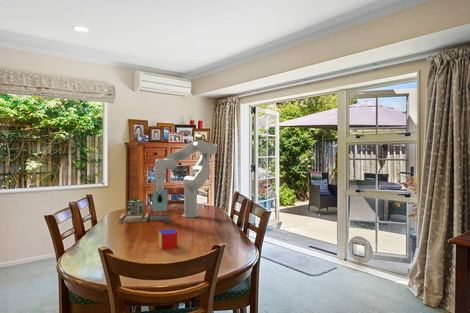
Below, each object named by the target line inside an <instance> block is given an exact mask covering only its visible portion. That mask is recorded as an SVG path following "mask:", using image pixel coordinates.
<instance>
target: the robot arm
mask: <svg viewBox="0 0 470 313" xmlns="http://www.w3.org/2000/svg"><path fill="white" fill-rule="evenodd" d="M197 152H199V155H200V158H199V159H198V161H197V163H196V164H195V165H194V167H193V168H192V171H191V172H192V175H191V174H188V175H186V176H184V178H183V181H182V184H183V191H184V194H183V197H184V199H183V200H184V201H183V202H184V203H183V204H184V206H183V209H184V211H183V214H182V215H181V216H182V218H189V219H191V218H198V217H199V213H198V212H197V211H198V205H197V204H198V202H197V201H198V199H197V198H198V193H197V189H200V188H202V187H203V186H204V184H205V182H206V181H207V180H208V179H209V177H210V175H211V173H212V172H211V168H210V166H209V165H210V164H211V156H210V155H212V156H213V155H216V153H217V152H218V146H217V145H216V143H212V142H209V141H208V142H207V141H205V140H193V141H191V142H189V143H188V144H186V145H185V146H183V147H182V148H180V149H178V150H176V151H174V152H172V153H170V154H168V155H166V156H165V157H164V158H157V159H155V160H154V179H155V189H156V193H157V192H158V203H162V192H163V189H164V188H165V179H166V178H167V172H166V171H167V170H174V169H177V167H178V162H179V161H184V160H187V159H189V158H190V157H191V156H193V155H194V154H195V153H197Z"/></svg>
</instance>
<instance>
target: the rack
mask: <svg viewBox="0 0 470 313" xmlns="http://www.w3.org/2000/svg"><path fill="white" fill-rule="evenodd" d="M149 214H150V213H149V212H146V214H145V213H144V214H139V215H127V214H126V213H122V215H121V216H120V217H118V222H119V223H121V224H123V223H127V224H128V222H124V219H126V217H127V216H142V218H143V221H142V222H141V223H146V222H148V219H149V218H150V215H149Z"/></svg>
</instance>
